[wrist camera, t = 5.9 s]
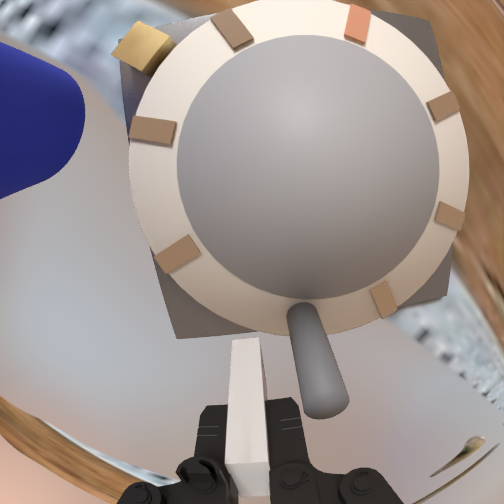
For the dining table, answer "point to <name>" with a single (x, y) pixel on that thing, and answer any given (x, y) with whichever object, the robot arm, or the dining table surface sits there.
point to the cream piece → (299, 174)
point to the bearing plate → (133, 87)
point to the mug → (35, 119)
